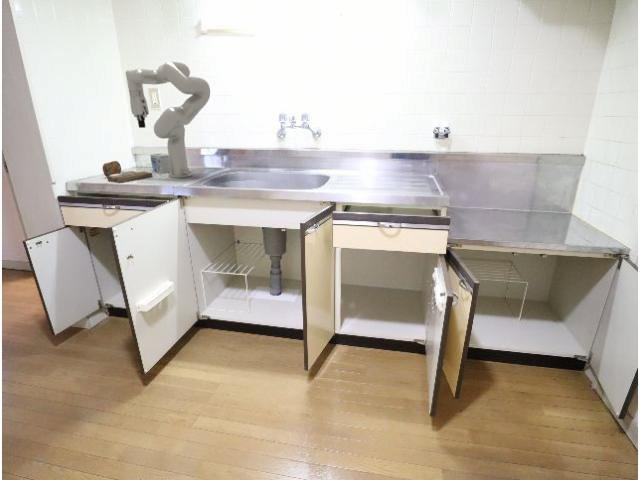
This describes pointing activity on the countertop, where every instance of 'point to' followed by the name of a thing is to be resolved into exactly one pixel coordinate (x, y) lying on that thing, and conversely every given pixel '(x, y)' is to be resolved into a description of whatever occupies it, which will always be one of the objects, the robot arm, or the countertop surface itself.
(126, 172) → the middle button
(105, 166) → the tin
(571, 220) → the countertop surface
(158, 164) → the light bulb box
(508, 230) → the countertop surface
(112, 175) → the end button
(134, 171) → the end button
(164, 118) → the robot arm
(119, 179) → the button board
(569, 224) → the countertop surface
